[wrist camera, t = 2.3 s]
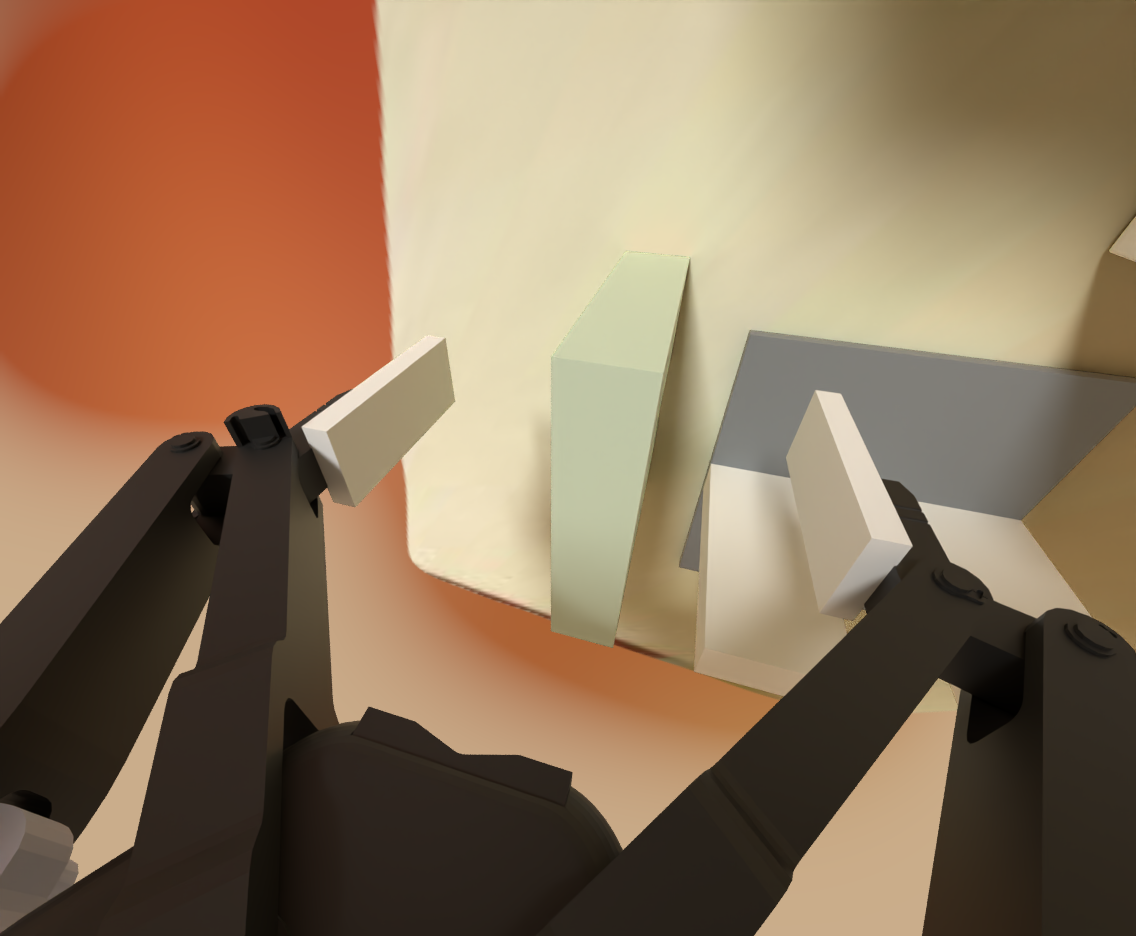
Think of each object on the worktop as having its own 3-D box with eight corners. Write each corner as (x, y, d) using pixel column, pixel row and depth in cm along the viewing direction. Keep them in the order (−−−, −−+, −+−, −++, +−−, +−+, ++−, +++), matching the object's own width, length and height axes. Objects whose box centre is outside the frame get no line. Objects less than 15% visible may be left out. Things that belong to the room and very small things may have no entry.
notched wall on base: (679, 561, 33) (662, 740, 23) (749, 330, 21) (771, 501, 12) (915, 614, 30) (1004, 846, 20) (1145, 379, 18) (1596, 661, 9)
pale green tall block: (625, 251, 21) (551, 356, 12) (690, 257, 20) (663, 373, 11) (602, 474, 30) (550, 631, 21) (646, 482, 29) (612, 647, 20)
